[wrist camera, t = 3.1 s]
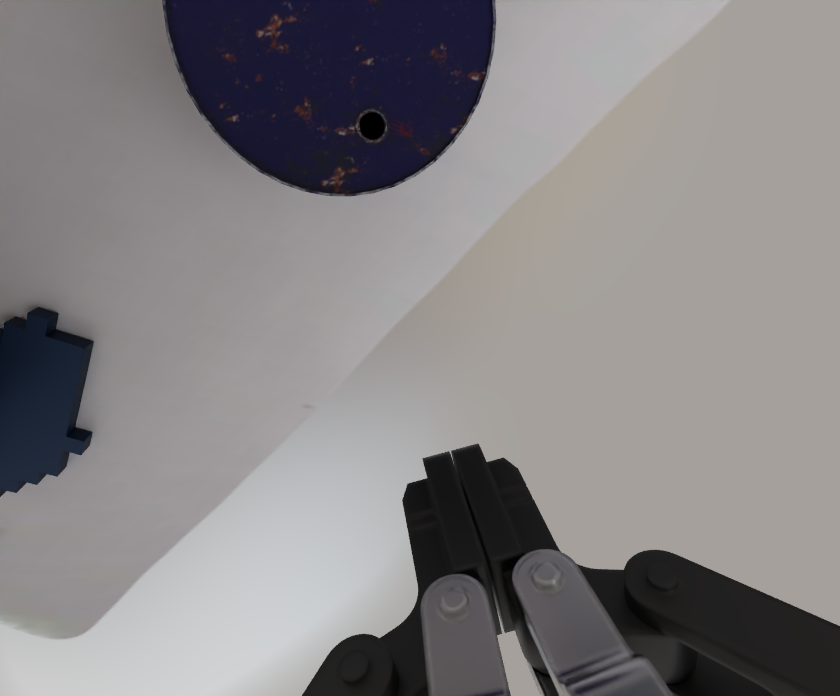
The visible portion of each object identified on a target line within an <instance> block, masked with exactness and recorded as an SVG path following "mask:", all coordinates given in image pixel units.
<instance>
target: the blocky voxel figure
mask: <svg viewBox="0 0 840 696" xmlns="http://www.w3.org/2000/svg"><path fill="white" fill-rule="evenodd" d="M57 319H58V313H55V312H52V311H49V310H46V309H43V308H40V307H38V308H36V309H34V310H33V311H31V312H29V313H28V314H27V320H25V319H21V318H18V317H15V318H13V319H11V320H9V321H7V322H5V323H4V328H3V329H0V497H1V496H2V495H3V494H4V493H5V492H6V491H10V492H14V493H17V492H18V491H19V490H20V489H21V488H22V487H23V486H24V485H25V484H26V482H28V483H32V484H35V485H37V484H38V483H39V482H40V481H41V480H42V479H43V478H44V477H45V476H46V474H49V475H53V476H58V475H59V474H60V473H61V472H62V471H63V470H64V469H65V467H66V466H67V461H68V456H69V452H71V453H75V454H78V455H82V453H83V452H84V451H85V450H86V449H87V448H88V447H89V445H90V441H91V437H92V432H89V431H85V430H81V429H78V428H75V425H76V420H77V416H78V411H79V406H80V402H81V397H82V393H83V388H84V384H85V379H86V375H87V370H88V365H89V361H90V356H91V352H92V347H93V343H94V342H93V341H90V340H87V339H84V338H81V337H78V336H75V335H71V334H68V333H65V332H62V331H59V330H56V324H57Z"/></svg>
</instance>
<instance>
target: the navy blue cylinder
mask: <svg viewBox="0 0 840 696" xmlns="http://www.w3.org/2000/svg"><path fill="white" fill-rule="evenodd" d="M162 3H163V10H164V17H165V25H166V32H167V36H168V40H169V44H170V47H171V51H172V54H173V58H174V62H175V64H176V67H177V69H178V72H179V74H180V76H181V79H182V81H183V83H184V86H185V88H186V90H187V92H188V94H189V95H190V97H191V99H192V101H193V102H194V104H195V106H196V107H197V109H198V111H199V112H200V114H201V116H202V117H203V118H204V120H205V121H206V122H207V123H208V125H209V126H210V127H211V128H212V130H213V131H214V132H215V134H216V135H217V136H218V137H219V138H220V139H221V140H222V141H223V142H224V143H225V144H226V145H227V146H228V147H229V148H230V149H231V150H232V151H233V152H234V153H235V154H236V155H237V156H238V157H240V158H241V159H242V160H244V161H245V162H247V163H248V164H249V165H251V166H252V167H253V168H255V169H256V170H257V171H259V172H261V173H263V174H264V175H266V176H268V177H270V178H272V179H274V180H276V181H278V182H280V183H282V184H284V185H287V186H290V187H293V188H296V189H299V190H302V191H305V192H310V193H315V194H321V195H326V196H356V195H363V194H371V193H375V192H378V191H382V190H385V189H388V188H391V187H394V186H397V185H399V184H401V183H403V182H405V181H407V180H409V179H411V178H413V177H415V176H416V175H418V174H419V173H420V172H422V171H423V170H425V169H426V168H427V167H429V166H430V165H432V164H433V163H434V162H435V161H436V160H437V159H438V158H439V157H440V156H441V155H442V154H443V153H444V152H445V151H447V150H448V149H449V148H450V147H451V146H452V144H453V143H454V142H455V140H456V139H457V138H458V136H459V135H460V133H461V132H462V131H463V129H464V128H465V127H466V125H467V124H468V122H469V120H470V118H471V116H472V114H473V112H474V110H475V109H476V107H477V105H478V103H479V100H480V98H481V95H482V92H483V90H484V87H485V84H486V81H487V79H488V75H489V70H490V65H491V61H492V56H493V52H494V42H495V29H496V10H495V0H162Z"/></svg>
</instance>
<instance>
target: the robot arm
mask: <svg viewBox="0 0 840 696" xmlns="http://www.w3.org/2000/svg"><path fill="white" fill-rule="evenodd" d="M451 453H452V457H453V461H452V458H451V455H450V452H449V451H448V452H445V453H441V454H437V455H433V456H430V457H426V458H423V462H424V466H425V470H426V474H427V479H423V480H420V481H416V482H412V483H409V484H407V488H406V491H405V494H404V497H403V500H402V501H403V506H404V512H405V517H406V523H407V528H408V533H409V539H410V544H411V550H412V555H413V560H414V566H415V571H416V577H417V582H418V597H417V602H416V604H415V607H414V609H413V610H412V612H411V613H410V615H409V616H408V617H407V619H406V620H405V621H404V622H402V623H401V624H400V625H399V626H397V627H396V628H395V629H393V630H392V631H390V632H388V633H387V634H385V635H384V636H382V637H381V638H378V637H376V636H373V635H369V634H359V635H355V636H351V637H349V638H347V639H345V640H343V641H341V642H340V643H339V644H338V645H336V646H335V648H334V649H333V650H332V651H331V652H330V653H329V655H328V656H327V657H326V659H325V661H324V662H323V664H322V665H321V667H320V668H319V670H318V672H317V673H316V675H315V676H314V678H313V679H312V681H311V682H310V684H309V685H308V687H307V689H306V690H305V692H304V693H303V695H302V696H511V695H510V691H509V687H508V682H507V678H506V673H505V669H504V665H503V661H502V656H501V652H500V647H499V643H498V638H497V635H499V634H502V632H501V627H500V622H499V617H498V613H499V616H500V619H501V622H502V625H503V628H504V631H505V633H507V632H510V631H514V630H515V632H516V635H517V637H518V640H519V643H520V646H521V649H522V652H523V654H524V656H525V658H526V659H527V664H528V667H529V669H530V671H531V674H532V676H533V678H534V681H535V683H536V685H537V688H538V690H539V692H540V694H541V696H840V626H838V625H836V624H833V623H831V622H829V621H827V620H824V619H821V618H819V617H817V616H815V615H813V614H811V613H808V612H806V611H804V610H801V609H799V608H797V607H795V606H792V605H790V604H788V603H786V602H783V601H781V600H779V599H776V598H774V597H772V596H770V595H767V594H765V593H763V592H760V591H758V590H756V589H753V588H751V587H749V586H746V585H744V584H742V583H740V582H738V581H735V580H733V579H731V578H728V577H726V576H724V575H722V574H719V573H717V572H715V571H712V570H710V569H708V568H705V567H703V566H701V565H699V564H696V563H694V562H692V561H689V560H687V559H685V558H683V557H680V556H678V555H676V554H673V553H670V552H666V551H661V550H648V551H643V552H640V553H638V554H636V555H634V556H633V557H632V558H631V559H629V561H628V562H627V564H626V566H625V568H624V570H607V569H605V570H604V569H591V568H586V567H583V566H580V565H578V564H576V563H575V562H574V561H573V560H572V559H571V558H570V557H569V556H567V555H565V554H564V553H562V552H561V551H560V550H559V549H558V547H557V545H556V543H555V541H554V539H553V537H552V535H551V533H550V531H549V529H548V528H547V525H546V523H545V521H544V519H543V517H542V515H541V514H540V511H539V510H538V507H537V505H536V504H535V501H534V500H533V498H532V496H531V494H530V492H529V490H528V488H527V487H526V484H525V482H524V480H523V478H522V476H521V474H520V472H519V470H518V468H516V467H515V466H514V465H512V464H511V463H510V462H509V461H507V460H506V459H505V458H501V459H497V460H493V461H490V462H486V460H485V457H484V455H483V453H482V450H481V448H480V446H479V444H475V445H471V446H467V447H463V448H460V449H456V450H453V451H452V452H451ZM453 462H454V464H453ZM496 607H497V608H496ZM497 610H498V613H497Z"/></svg>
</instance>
